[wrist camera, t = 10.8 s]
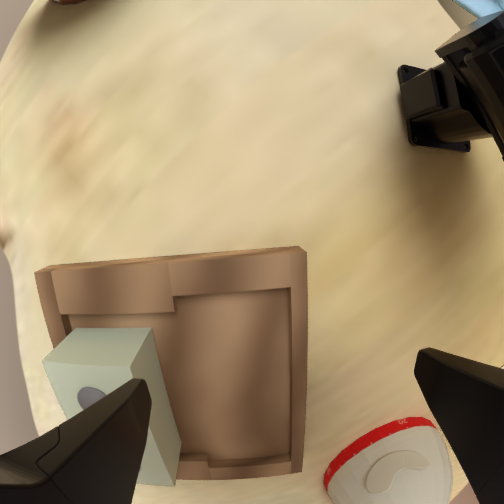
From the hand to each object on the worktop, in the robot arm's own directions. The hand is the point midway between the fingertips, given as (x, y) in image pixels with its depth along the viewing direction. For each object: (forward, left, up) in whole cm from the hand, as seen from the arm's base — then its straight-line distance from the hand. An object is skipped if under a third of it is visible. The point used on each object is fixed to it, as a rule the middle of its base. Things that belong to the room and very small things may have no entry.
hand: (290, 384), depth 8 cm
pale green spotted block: (+10, +8, -10) cm, 16 cm away
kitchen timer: (-13, +23, -12) cm, 29 cm away
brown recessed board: (+6, +8, -11) cm, 15 cm away
